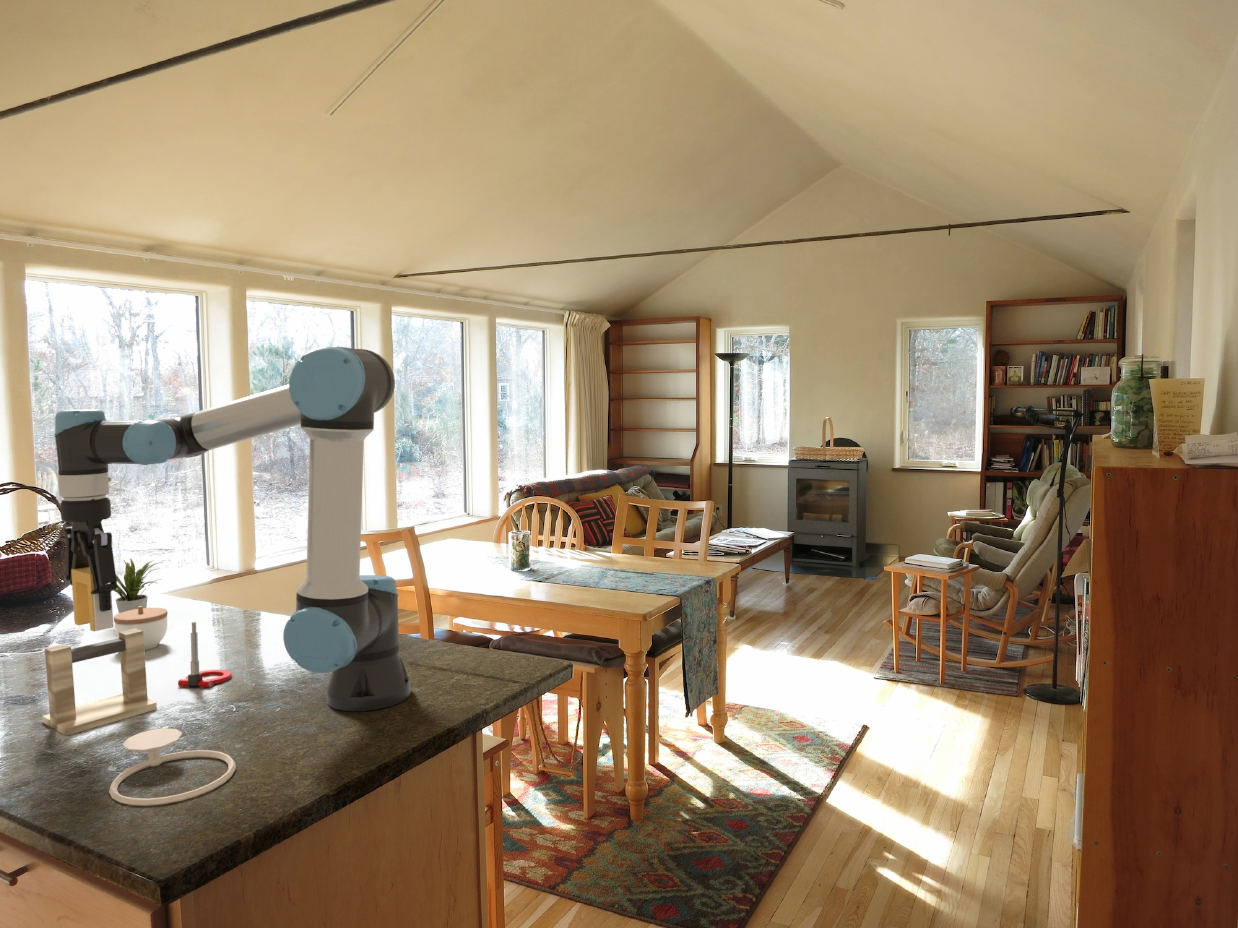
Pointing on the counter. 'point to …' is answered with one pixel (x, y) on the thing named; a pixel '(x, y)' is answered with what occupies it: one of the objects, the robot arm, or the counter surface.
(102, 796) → the counter surface
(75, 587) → the yellow u-shaped bracket
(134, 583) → the house plant
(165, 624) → the lidded jar
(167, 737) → the hand towel holder
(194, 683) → the tow hook
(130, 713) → the wooden crossbar stand
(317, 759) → the counter surface
